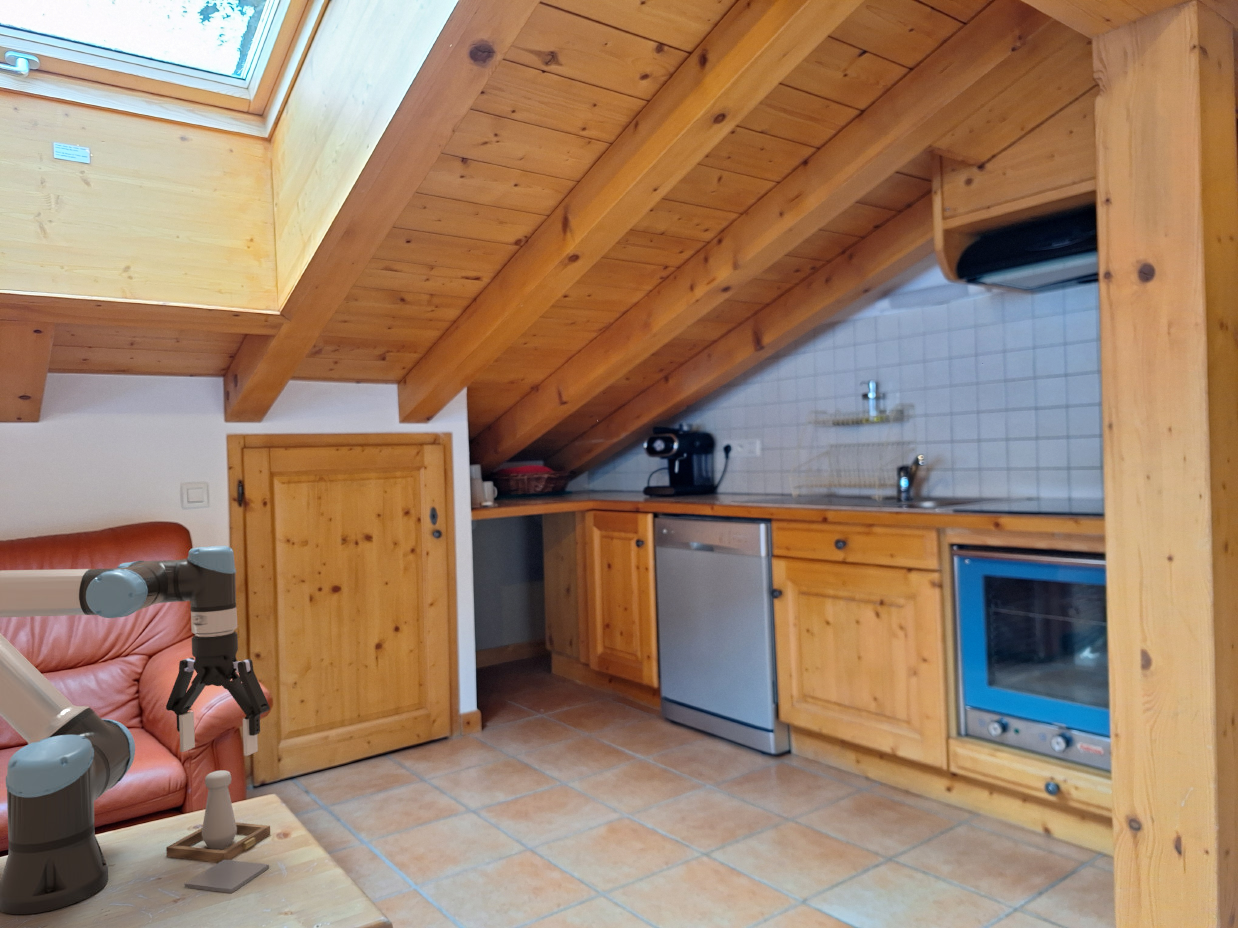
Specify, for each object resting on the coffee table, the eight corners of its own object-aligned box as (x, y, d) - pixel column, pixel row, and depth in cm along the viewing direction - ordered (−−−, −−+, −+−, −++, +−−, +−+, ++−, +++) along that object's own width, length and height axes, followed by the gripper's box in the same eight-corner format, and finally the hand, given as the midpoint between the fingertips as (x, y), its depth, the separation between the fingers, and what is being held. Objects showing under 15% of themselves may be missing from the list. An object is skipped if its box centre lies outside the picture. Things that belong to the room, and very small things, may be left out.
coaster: (184, 887, 142) (184, 883, 142) (224, 862, 151) (224, 859, 151) (231, 892, 139) (231, 888, 139) (268, 867, 148) (268, 864, 148)
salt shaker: (194, 851, 156) (192, 777, 156) (214, 837, 161) (212, 766, 161) (225, 852, 155) (223, 778, 155) (244, 838, 160) (242, 767, 160)
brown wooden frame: (166, 856, 154) (166, 847, 154) (215, 828, 165) (215, 820, 165) (227, 862, 150) (226, 853, 150) (273, 834, 162) (272, 825, 162)
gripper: (141, 635, 158) (145, 754, 158) (259, 637, 151) (264, 761, 151) (173, 627, 165) (177, 741, 165) (287, 629, 158) (291, 747, 158)
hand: (218, 751), depth 158 cm, fingers open, 13 cm apart
